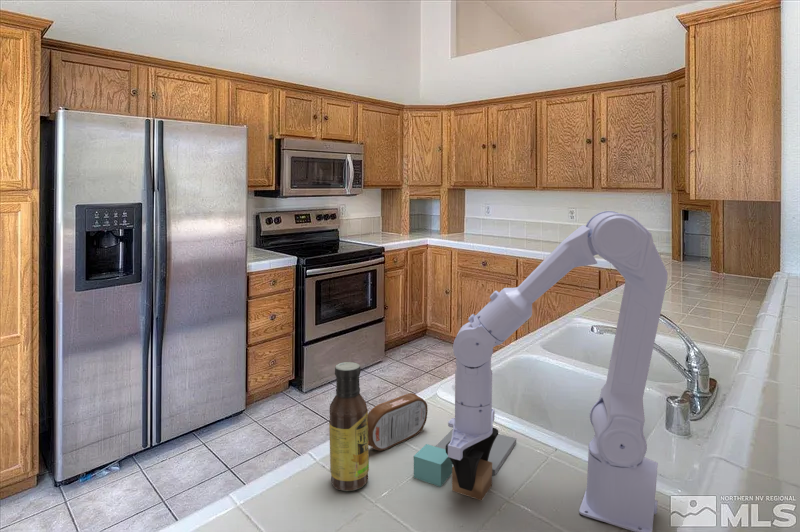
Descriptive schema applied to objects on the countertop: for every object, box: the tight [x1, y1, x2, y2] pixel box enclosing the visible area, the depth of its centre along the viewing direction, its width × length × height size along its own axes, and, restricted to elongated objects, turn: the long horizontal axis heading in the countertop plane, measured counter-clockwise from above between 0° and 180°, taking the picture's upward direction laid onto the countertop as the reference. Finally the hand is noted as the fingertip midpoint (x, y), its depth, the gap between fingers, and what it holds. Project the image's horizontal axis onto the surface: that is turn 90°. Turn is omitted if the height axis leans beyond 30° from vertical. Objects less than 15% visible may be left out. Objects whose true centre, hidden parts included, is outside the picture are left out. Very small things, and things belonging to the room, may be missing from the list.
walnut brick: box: [451, 459, 493, 502], centre depth 76 cm, size 5×4×4 cm
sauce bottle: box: [328, 361, 370, 492], centre depth 77 cm, size 6×6×20 cm
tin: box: [368, 392, 428, 452], centre depth 90 cm, size 15×3×8 cm, turn 132°
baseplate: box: [435, 428, 517, 476], centre depth 88 cm, size 12×12×1 cm
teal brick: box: [413, 443, 453, 488], centre depth 80 cm, size 5×4×4 cm
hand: (472, 479), depth 76 cm, fingers closed on walnut brick, 4 cm apart
